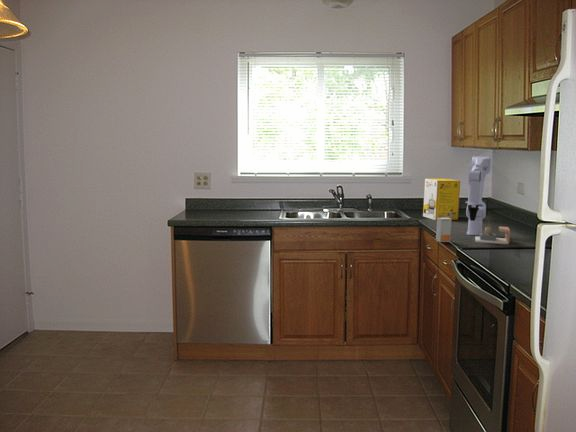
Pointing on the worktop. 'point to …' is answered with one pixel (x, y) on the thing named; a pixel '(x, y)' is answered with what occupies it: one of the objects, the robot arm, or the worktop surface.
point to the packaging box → (441, 198)
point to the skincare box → (443, 229)
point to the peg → (488, 230)
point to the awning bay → (494, 237)
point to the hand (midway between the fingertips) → (472, 219)
